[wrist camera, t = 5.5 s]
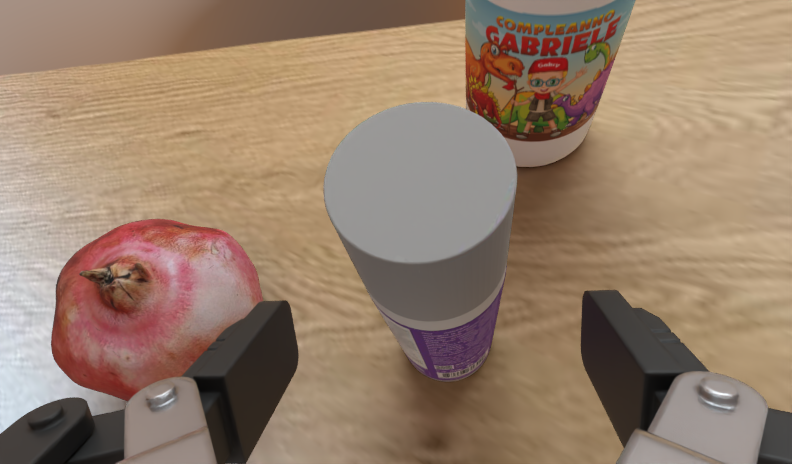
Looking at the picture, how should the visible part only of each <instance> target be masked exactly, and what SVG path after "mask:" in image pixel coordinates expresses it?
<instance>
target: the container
mask: <svg viewBox="0 0 792 464" xmlns="http://www.w3.org/2000/svg"><path fill="white" fill-rule="evenodd" d="M516 187H517V168H516V163H515V159H514V156H513V153H512V151H511V149H510V147H509V145H508V143H507V142H506V140H505V138H504V137H503V136H502V134H501V133H500V132H499V131H498V130H497V129H496V128H495V127H494V126H493V125H492V124H491V123H489V122H488V121H487V120H485V119H484V118H482V117H481V116H479V115H477V114H476V113H473V112H471V111H469V110H467V109H464V108H461V107H458V106H454V105H450V104H445V103H437V102H418V103H409V104H404V105H399V106H396V107H393V108H390V109H387V110H384V111H382V112H379V113H377V114H375V115H373V116H371V117H370V118H368V119H367V120H365V121H363V122H362V123H360V124H359V125H358V126H357V127H355V128H354V129H353V130H352V131H351V132H350V133H349V134H348V135H347V136H346V137H345V138H344V139H343V140H342V141H341V143H340V144H339V145H338V147H337V148H336V150H335V152H334V153H333V155H332V157H331V159H330V162H329V164H328V167H327V170H326V174H325V179H324V201H325V206H326V209H327V212H328V215H329V217H330V220H331V222H332V223H333V225H334V227H335V229H336V231H337V233H338V235H339V237H340V239H341V241H342V243H343V245H344V247H345V249H346V250H347V252H348V254H349V256H350V258H351V260H352V262H353V264H354V266H355V268H356V270H357V272H358V274H359V275H360V277H361V279H362V281H363V283H364V285H365V287H366V289H367V291H368V293H369V295H370V297H371V299H372V300H373V302H374V304H375V305H376V307H377V309H378V310H379V312H380V313H381V315H382V317H383V318H384V320H385V322H386V323H387V325H388V326H389V328H390V330H391V331H392V333H393V335H394V336H395V338H396V339H397V341H398V343H399V344H400V346H401V348H402V349H403V351H404V353H405V354H406V356H407V357H408V359H409V360H410V362H411V363H412V364H413V366H414V367H415V368H416V369H417V370H418V371H419V372H421V373H422V374H424V375H425V376H427V377H429V378H431V379H434V380H438V381H444V382H451V381H458V380H461V379H464V378H466V377H468V376H470V375H472V374H473V373H475V372H476V371H477V370H478V369H479V368H480V367H481V366H482V365H483V363H484V362H485V360H486V358H487V356H488V354H489V351H490V348H491V343H492V338H493V333H494V328H495V324H496V319H497V314H498V309H499V304H500V299H501V294H502V290H503V285H504V280H505V275H506V267H507V257H508V249H509V241H510V234H511V226H512V218H513V210H514V203H515V195H516Z"/></svg>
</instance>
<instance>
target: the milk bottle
mask: <svg viewBox="0 0 792 464" xmlns="http://www.w3.org/2000/svg"><path fill="white" fill-rule="evenodd" d="M634 3H635V0H466V43H465V45H466V109H467V110H469V111H471V112H473V113H476V114H477V115H479V116H481V117H482V118H484V119H485V120H487V121H488V122H489V123H491V124H492V125H493V126H494V127H495V128H496V129H497V130H498V131H499V132H500V133H501V134H502V136H503V137H504V138H505V140H506V142H507V143H508V145H509V147H510V149H511V151H512V153H513V156H514V159H515V163H516V166H518V167H535V166H543V165H547V164H550V163H553V162H556V161H558V160H560V159H562V158H564V157H566V156H567V155H568V154H570V153H571V152H573V151H574V150H575V149H576V148H577V147H578V146H579V145H580V144H581V143H582V141H583V140H584V138H585V137H586V135H587V132H588V130H589V127H590V125H591V123H592V120H593V118H594V115H595V112H596V109H597V107H598V104H599V101H600V99H601V96H602V93H603V90H604V88H605V85H606V82H607V79H608V76H609V74H610V71H611V68H612V65H613V63H614V60H615V57H616V54H617V52H618V49H619V46H620V43H621V40H622V37H623V35H624V32H625V29H626V26H627V23H628V20H629V17H630V15H631V12H632V9H633V6H634Z"/></svg>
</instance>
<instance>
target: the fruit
mask: <svg viewBox="0 0 792 464" xmlns="http://www.w3.org/2000/svg"><path fill="white" fill-rule="evenodd" d="M260 301H263V298H262V292H261V289H260V284H259V279H258V275H257V271H256V269H255V267H254V265H253V263H252V262H251V260H250V259H249V257H248V255H247V254H246V252H245V251H244V250H243V248H242V247H241V246H240V245H239V244H238V242H237V241H236V240H235V239H234V238H233V237H232V236H230V235H229V234H228V233H226V232H224V231H222V230H219V229H213V228H207V227H197V226H192V225H187V224H183V223H180V222H177V221H173V220H166V219H149V220H141V221H136V222H131V223H128V224H125V225H122V226H119V227H117V228H115V229H113V230H111V231H110V232H108V233H106V234H105V235H103V236H101V237H99V238H98V239H96V240H94V241H93V242H91V243H89V244H87V245H86V246H84V247H83V248H82V249H80V250H79V251H77V252H76V253H75V254H74V255H73V256H72V257H71V258H70V260H69V261H68V262H67V263H66V265H65V266H64V268H63V269H62V270H61V273H60V275H59V277H58V280H57V284H56V308H55V316H54V323H53V330H52V340H51V347H52V354H53V357H54V360H55V361H56V363H57V364H58V366H59V367H60V368H61V369H62V370H63V372H64V373H65V374H66V375H67V376H68V377H69V378H70V379H71V380H72V381H74V382H75V383H77V384H78V385H80V386H82V387H85V388H89V389H92V390H96V391H99V392H103V393H106V394H109V395H112V396H115V397H118V398H120V399H123V400H126V401H129V400H130V399H131V398H132V397H133V396H134V395H135V394H136V393H137V392H139V391H140V390H142V389H143V388H145V387H147V386H148V385H150V384H153V383H155V382H157V381H160V380H163V379H167V378H171V377H181V376H182V375H183V374H184V373H185V372H186V371H187V370H188V369H189V367H190V366H191V365H192V364H193V363H194V362H195V361H196V360H197V359H198V358H199V357H200V356H201V355H202V354H203V352H204V351H207V348H208V347H209V346H210V345H211V344H212V343H213V342H216V339H217V337H218V336H219V335H220V334H221V333H222V332H223V331H224V330H225V329H226V328H227V327H229V326H231V325H232V324H234V323H236V322H237V321H239V320H241V319H244V318H245V317H246V316H247V315H248V314H249V313H250V311H251V310H252V309H253V308H254V307H255V306H256V305H257V304H258V303H259V302H260Z"/></svg>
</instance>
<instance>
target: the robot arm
mask: <svg viewBox="0 0 792 464" xmlns="http://www.w3.org/2000/svg"><path fill="white" fill-rule="evenodd" d="M581 354H582V360H583V364H584V367H585V370H586V372H587V374H588V376H589V378H590V380H591V382H592V384H593V386H594V388H595V390H596V392H597V394H598V396H599V398H600V400H601V402H602V404H603V406H604V408H605V410H606V412H607V414H608V416H609V418H610V421H611V423H612V425H613V427H614V429H615V431H616V433H617V435H618V437H619V439H620V441H621V443H622V445H623V447H624V450H623V451H622V453H621V455H620V457H619V459H618V460H617V462H616V464H792V413H790V412H785V411H780V410H775V409H771V408H768V405H767V403H766V401H765V399H764V398H763V397H762V396H761V395H760V394H759V393H758V392H757V391H756V390H754V389H753V388H752V387H750V386H748V385H747V384H745V383H743V382H741V381H739V380H736V379H734V378H731V377H728V376H725V375H721V374H718V373H712V372H709V371H708V370H707V368H706V367H705V366H704V365H703V364H702V363H701V362H700V361H699V360H698V359H697V358H696V357H695V356H694V354H693V353H692V352H691V351H690V350H689V349H688V348H687V347H686V346H685V345H684V344H683V343H681V342H680V339H679V338H678V337H677V336H676V335H675V334H674V333H671V330H670V329H669V328H668V327H667V325H666V324H665V323H664V322H663V321H662V320H661V319H660V318H659V317H657V316H655V315H653V314H651V313H649V312H647V311H646V310H644V309H642V308H632V307H631V306H630V305H629V303H628V302H627V301H626V300H625V299H624V298H623V296H622V295H621V294H620V293H619V292H618V291H617V290H598V291H585V292H584V294H583V300H582V326H581ZM297 365H298V346H297V341H296V335H295V330H294V324H293V318H292V313H291V308H290V305H289V303H288V302H287V301H260V302H259V303H258V304H257V305H256V306H255V307H254V308H253V309H252V310H251V311H250V313H249V314H248V315H247V316H246V317H245V318H244V319H241V320H239V321H237V322H236V323H234V324H232V325H231V326H229V327H227V328H226V329H225V330H224V331H223V332H222V333H221V334H220V335H219V336H218V337H217V339H216V342H213V343H212V344H211V345H210V346H209V347H208V348H207V351H204V352H203V354H202V355H201V356H200V357H199V358H198V359H197V360H196V361H195V362H194V363H193V364H192V365H191V366H190V367H189V369H188V370H187V371H186V372H185V373H184V374H183V375H182V376H181V377H171V378H167V379H163V380H160V381H157V382H155V383H153V384H150V385H148V386H147V387H145V388H143V389H142V390H140V391H139V392H137V393H136V394H135V395H134V396H133V397H132V398H131V399H130V400H129V401H128V403H127V404H126V406H125V410H120V411H115V412H111V413H106V414H101V415H97V416H92V415H91V412H90V409H89V407H88V404H87V401H86V400H84V399H82V398H65V399H61V400H57V401H54V402H51V403H48V404H45V405H43V406H41V407H39V408H36V409H34V410H33V411H31V412H29V413H27V414H26V415H24V416H23V417H21V418H20V419H18V420H17V421H16V422H15V423H13V424H12V425H11V426H10V427H8V428H7V429H6V430H5V431H3V432H2V433H1V434H0V464H246V462H247V460H248V458H249V457H250V455H251V453H252V451H253V449H254V447H255V445H256V444H257V442H258V440H259V438H260V436H261V434H262V432H263V431H264V429H265V427H266V425H267V423H268V421H269V420H270V418H271V416H272V414H273V412H274V410H275V408H276V407H277V405H278V403H279V401H280V399H281V397H282V396H283V394H284V392H285V390H286V388H287V386H288V384H289V383H290V381H291V379H292V377H293V375H294V373H295V371H296V369H297Z"/></svg>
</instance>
